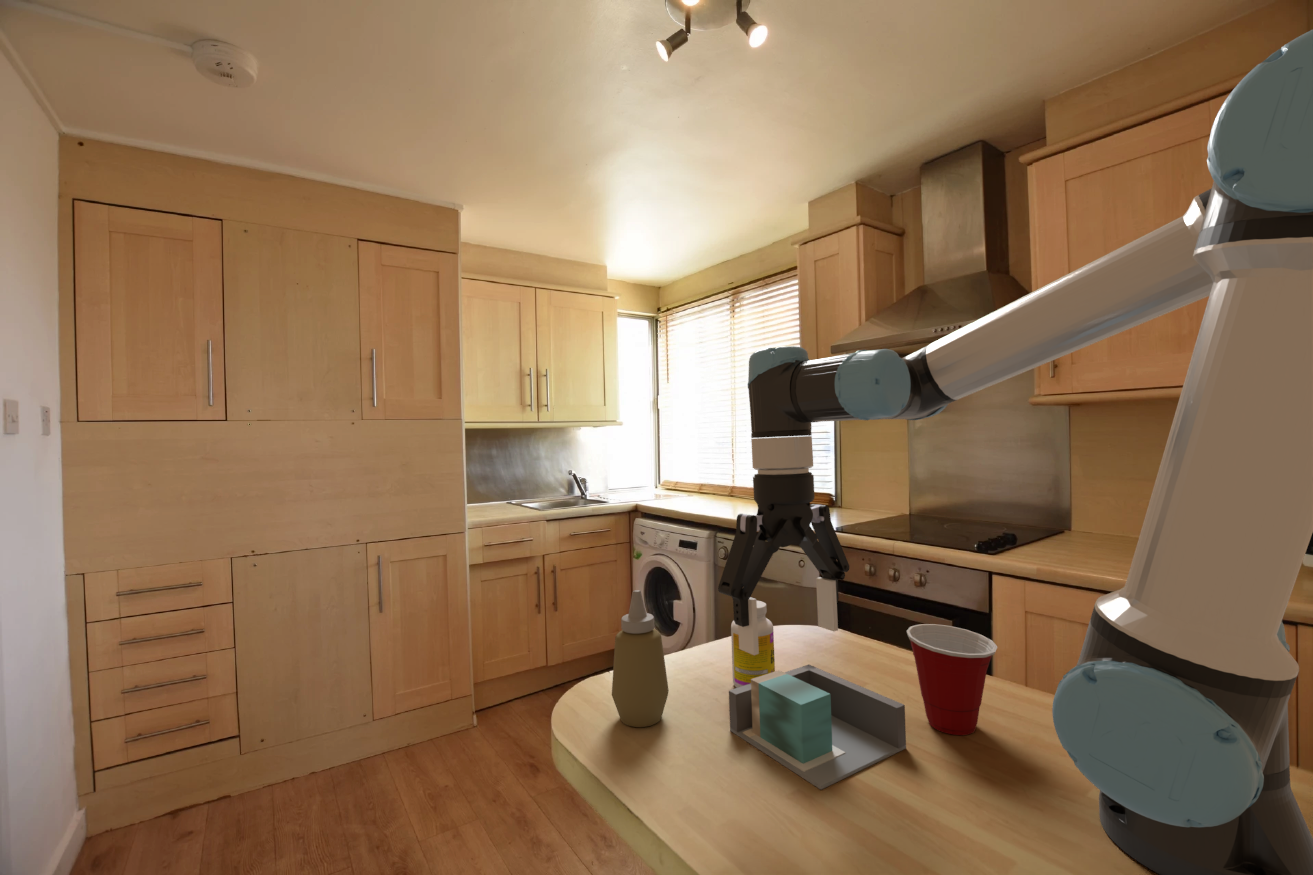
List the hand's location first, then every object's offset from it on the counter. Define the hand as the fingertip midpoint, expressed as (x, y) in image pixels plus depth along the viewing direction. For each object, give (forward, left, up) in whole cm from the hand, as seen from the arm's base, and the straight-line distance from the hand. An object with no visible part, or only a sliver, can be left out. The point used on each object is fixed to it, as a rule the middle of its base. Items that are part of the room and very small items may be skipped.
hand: (790, 639), depth 74 cm
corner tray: (0, -3, -14) cm, 14 cm away
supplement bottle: (+17, -8, -14) cm, 23 cm away
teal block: (0, 0, -13) cm, 13 cm away
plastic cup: (-8, -21, -14) cm, 26 cm away
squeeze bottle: (+18, +12, -14) cm, 26 cm away
